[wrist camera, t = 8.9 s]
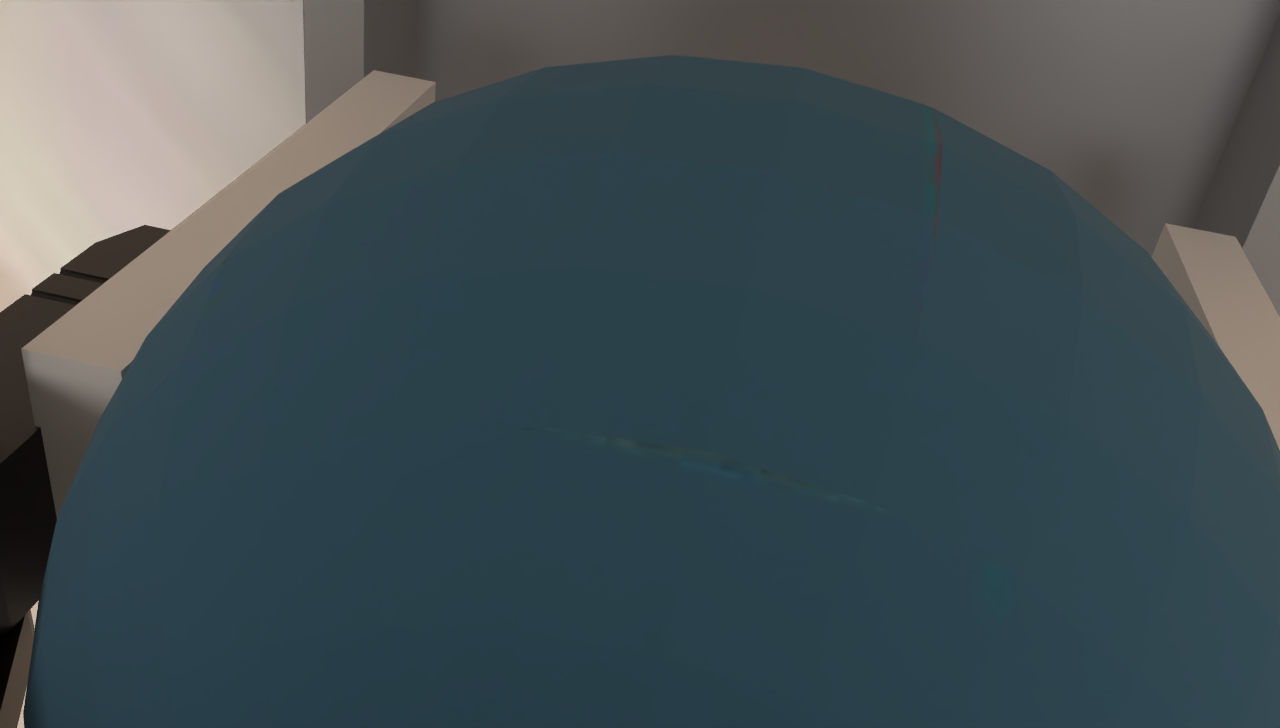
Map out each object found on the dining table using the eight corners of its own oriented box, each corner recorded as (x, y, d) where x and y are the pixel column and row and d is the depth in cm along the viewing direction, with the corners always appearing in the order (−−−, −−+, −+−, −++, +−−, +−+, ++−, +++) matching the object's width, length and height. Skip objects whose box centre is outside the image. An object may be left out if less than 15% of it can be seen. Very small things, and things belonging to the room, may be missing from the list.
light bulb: (401, 348, 17) (-306, 1318, 7) (569, -259, 13) (-691, 91, 3) (930, 564, 18) (951, 1808, 7) (1282, 38, 13) (2580, 1419, 3)
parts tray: (381, -432, 14) (291, -446, 12) (1458, -270, 13) (1560, -254, 11) (374, 412, 21) (315, 496, 19) (1088, 570, 20) (1109, 679, 18)
